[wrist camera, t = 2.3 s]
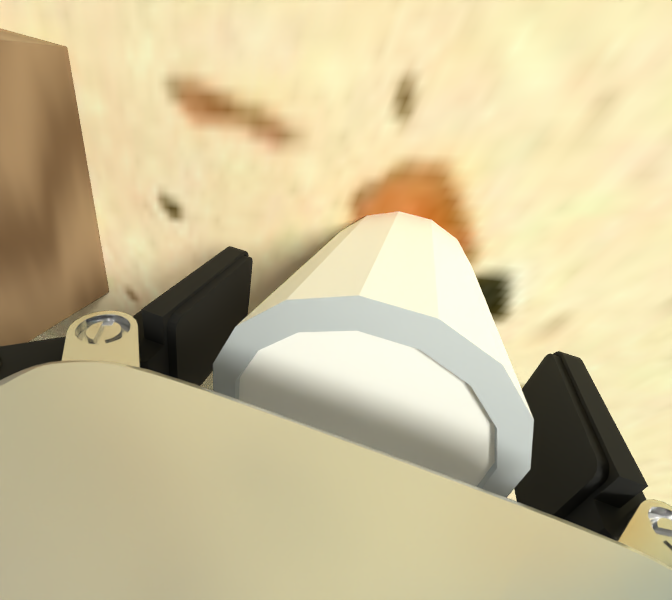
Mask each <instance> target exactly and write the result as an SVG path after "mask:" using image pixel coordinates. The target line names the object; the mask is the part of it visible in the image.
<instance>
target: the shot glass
mask: <svg viewBox="0 0 672 600" xmlns="http://www.w3.org/2000/svg"><path fill="white" fill-rule="evenodd" d="M213 391H215V392H218V393H221V394H224V395H227V396H230V397H233V398H235V399H238V400H241V401H244V402H246V403H249V404H252V405H255V406H258V407H260V408H263V409H266V410H269V411H271V412H274V413H277V414H280V415H283V416H285V417H288V418H291V419H294V420H296V421H299V422H302V423H305V424H308V425H310V426H313V427H316V428H319V429H321V430H324V431H327V432H330V433H332V434H335V435H338V436H341V437H343V438H346V439H349V440H351V441H354V442H357V443H360V444H362V445H365V446H368V447H371V448H373V449H376V450H379V451H382V452H384V453H387V454H390V455H392V456H395V457H398V458H401V459H403V460H406V461H409V462H412V463H414V464H417V465H420V466H422V467H425V468H428V469H431V470H433V471H436V472H439V473H441V474H444V475H447V476H449V477H452V478H455V479H457V480H460V481H463V482H465V483H468V484H471V485H473V486H476V487H479V488H482V489H484V490H487V491H490V492H492V493H495V494H498V495H500V496H503V497H506V498H507V496H508V495H509V494H510V493H511V492H512V490H513V489H514V488H515V487H516V486H517V484H518V483H519V482H520V481H521V480H522V479H523V477H524V476H525V475H526V474H527V473H528V471H529V470H530V468H531V454H532V440H533V426H534V419H533V416H532V414H531V411H530V409H529V407H528V404H527V402H526V399H525V397H524V394H523V392H522V389H521V387H520V384H519V382H518V379H517V377H516V375H515V372H514V370H513V367H512V365H511V362H510V360H509V357H508V355H507V352H506V350H505V347H504V345H503V342H502V340H501V338H500V335H499V333H498V330H497V328H496V325H495V323H494V320H493V318H492V315H491V313H490V310H489V308H488V306H487V303H486V301H485V298H484V296H483V293H482V291H481V288H480V286H479V283H478V281H477V278H476V276H475V273H474V271H473V269H472V266H471V264H470V262H469V260H468V259H467V257H466V255H465V253H464V251H463V249H462V248H461V246H460V244H459V242H458V240H457V239H456V238H455V237H453V236H452V235H451V234H449V233H448V232H447V231H445V230H444V229H443V228H441V227H440V226H439V225H438V224H436V223H435V222H434V221H432V220H430V219H427V218H423V217H419V216H415V215H411V214H407V213H403V212H399V211H398V212H391V213H383V214H376V215H368V216H365V217H364V218H362V219H360V220H359V221H357V222H355V223H354V224H352V225H350V226H348V227H347V228H345V229H343V230H342V231H340V232H339V233H338V234H337V235H336V236H335V237H334V238H333V239H332V240H330V241H329V242H328V243H327V244H326V245H325V246H324V247H323V248H322V249H321V250H319V251H318V252H317V253H316V254H315V255H314V256H313V257H312V258H311V259H309V260H308V261H307V262H306V263H305V264H304V265H303V266H302V267H301V268H300V269H298V270H297V271H296V272H295V273H294V274H293V275H292V276H291V277H290V278H288V279H287V280H286V281H285V282H284V283H283V284H282V285H281V286H280V287H279V288H277V289H276V290H275V291H274V292H273V293H272V294H271V295H270V296H269V297H267V298H266V299H265V300H264V301H263V302H262V303H261V304H260V305H259V306H258V307H256V308H255V309H254V310H253V311H252V312H251V313H250V314H249V315H248V316H246V317H245V318H244V319H243V320H242V321H241V322H240V323H239V324H238V325H236V327H235V328H234V330H233V332H232V333H231V335H230V336H229V338H228V340H227V341H226V343H225V345H224V346H223V348H222V350H221V351H220V353H219V355H218V356H217V358H216V360H215V361H214V363H213Z"/></svg>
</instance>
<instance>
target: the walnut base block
mask: <svg viewBox="0 0 672 600" xmlns="http://www.w3.org/2000/svg"><path fill="white" fill-rule="evenodd" d="M108 292H109V288H108V282H107V276H106V271H105V265H104V259H103V253H102V247H101V242H100V236H99V230H98V224H97V218H96V212H95V207H94V201H93V195H92V189H91V183H90V178H89V172H88V166H87V160H86V154H85V148H84V143H83V137H82V131H81V125H80V119H79V114H78V108H77V102H76V96H75V90H74V85H73V79H72V73H71V67H70V61H69V55H68V50H67V47H66V46H62V45H58V44H55V43H51V42H47V41H44V40H40V39H37V38H33V37H29V36H26V35H22V34H18V33H15V32H11V31H8V30H4V29H0V346H6V345H13V344H20V343H27V342H29V341H30V340H32V339H34V338H35V337H37V336H39V335H40V334H42V333H43V332H45V331H47V330H48V329H50V328H52V327H53V326H55V325H56V324H58V323H60V322H61V321H63V320H64V319H66V318H68V317H69V316H71V315H73V314H74V313H76V312H77V311H79V310H81V309H82V308H84V307H86V306H87V305H89V304H90V303H92V302H94V301H95V300H97V299H99V298H100V297H102V296H103V295H105V294H107V293H108Z"/></svg>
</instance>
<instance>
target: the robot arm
mask: <svg viewBox="0 0 672 600" xmlns="http://www.w3.org/2000/svg"><path fill="white" fill-rule="evenodd" d="M252 262H253V261H252V258H251V257H248V253H247V252H246V251H243V250H240V249H237V248H234V247H230V246H229V247H227V248H226V249H225V250H223V251H222V252H220V253H219V254H218V255H216V256H215V257H213V258H212V259H211V260H209V261H208V262H206V263H205V264H204V265H202V266H201V267H200V268H198V269H197V270H195V271H194V272H193V273H191V274H190V275H188V276H187V277H186V278H184V279H183V280H182V281H180V282H179V283H177V284H176V285H175V286H173V287H172V288H170V289H169V290H168V291H166V292H165V293H163V294H162V295H161V296H159V297H158V298H157V299H155V300H154V301H152V302H151V303H150V304H148V305H147V306H145V307H144V308H143V309H141V311H140V312H139V313H137V314H136V315H134V316H133V317H132V316H131V315H129V314H127V313H124V312H119V311H100V312H94V313H91V314H88V315H85V316H83V317H81V318H79V319H77V320H76V321H74V322H73V323H72V324H71V325H70V326H69V328H68V331H67V334H66V337H61V338H54V339H47V340H40V341H34V342H27V343H20V344H13V345H6V346H0V600H672V506H670V505H668V504H666V503H664V502H661V501H658V500H654V499H651V500H646V498H645V496H644V494H643V492H642V491H643V490H644V489H645V488H646V487H648V485H647V483H646V481H645V479H644V477H643V476H642V474H641V472H640V470H639V468H638V466H637V464H636V462H635V460H634V458H633V457H632V455H631V453H630V451H629V449H628V447H627V445H626V443H625V441H624V439H623V438H622V436H621V434H620V432H619V430H618V428H617V426H616V424H615V422H614V420H613V418H612V417H611V415H610V413H609V411H608V409H607V407H606V405H605V403H604V401H603V399H602V398H601V396H600V394H599V392H598V390H597V388H596V386H595V384H594V382H593V380H592V379H591V377H590V375H589V373H588V371H587V369H586V367H585V365H584V363H583V361H582V360H581V359H580V358H578V357H575V356H572V355H569V354H566V353H563V352H559V351H558V352H555V353H554V354H548V355H546V357H545V358H544V359H543V361H542V362H541V363H540V365H539V366H538V367H537V369H536V370H535V372H534V373H533V374H532V376H531V377H530V379H529V380H528V381H527V383H526V384H525V386H524V387H523V388H522V392H523V394H524V397H525V399H526V402H527V404H528V407H529V409H530V411H531V414H532V416H533V419H534V426H533V440H532V454H531V468H530V470H529V471H528V473H527V474H526V475H525V476H524V477H523V479H522V480H521V481H520V482H519V483H518V484H517V486H516V487H515V488H514V489H515V494H516V499H517V502H516V501H514V500H511V499H508V498H506V497H503V496H500V495H498V494H495V493H492V492H490V491H487V490H484V489H482V488H479V487H476V486H473V485H471V484H468V483H465V482H463V481H460V480H457V479H455V478H452V477H449V476H447V475H444V474H441V473H439V472H436V471H433V470H431V469H428V468H425V467H422V466H420V465H417V464H414V463H412V462H409V461H406V460H403V459H401V458H398V457H395V456H392V455H390V454H387V453H384V452H382V451H379V450H376V449H373V448H371V447H368V446H365V445H362V444H360V443H357V442H354V441H351V440H349V439H346V438H343V437H341V436H338V435H335V434H332V433H330V432H327V431H324V430H321V429H319V428H316V427H313V426H310V425H308V424H305V423H302V422H299V421H296V420H294V419H291V418H288V417H285V416H283V415H280V414H277V413H274V412H271V411H269V410H266V409H263V408H260V407H258V406H255V405H252V404H249V403H246V402H244V401H241V400H238V399H235V398H233V397H230V396H227V395H224V394H221V393H218V392H215V391H213V390H210V389H207V388H204V387H201V386H200V385H201V384H202V383H203V382H204V381H205V379H206V378H207V377H208V376H209V375H210V373H211V372H212V371H213V363H214V361H215V360H216V358H217V356H218V355H219V353H220V351H221V350H222V348H223V346H224V345H225V343H226V341H227V340H228V338H229V336H230V335H231V333H232V332H233V330H234V328H235V327H236V325H238V324H239V323H240V322H241V321H242V320H243V319H244V318H245V317H246V316H248V305H249V295H250V284H251V274H252Z"/></svg>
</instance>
